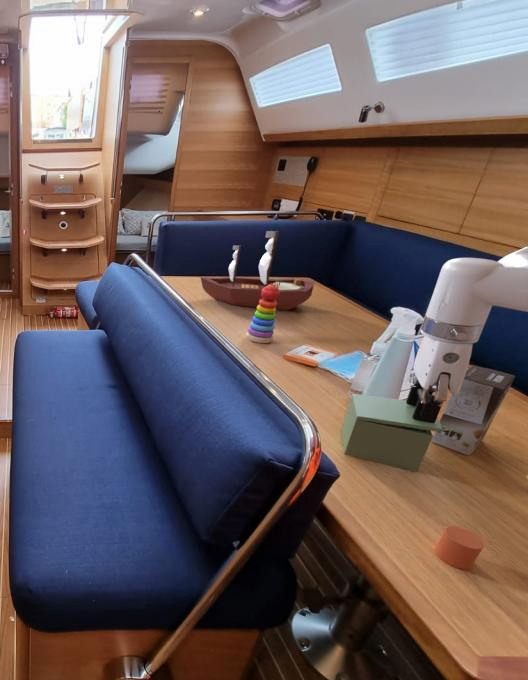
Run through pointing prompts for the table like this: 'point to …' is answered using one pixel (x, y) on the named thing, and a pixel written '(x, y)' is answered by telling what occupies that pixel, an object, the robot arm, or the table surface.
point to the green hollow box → (384, 442)
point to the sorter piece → (458, 547)
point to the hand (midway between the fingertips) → (419, 412)
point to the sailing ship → (258, 283)
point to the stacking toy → (264, 316)
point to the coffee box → (472, 409)
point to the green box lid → (390, 412)
